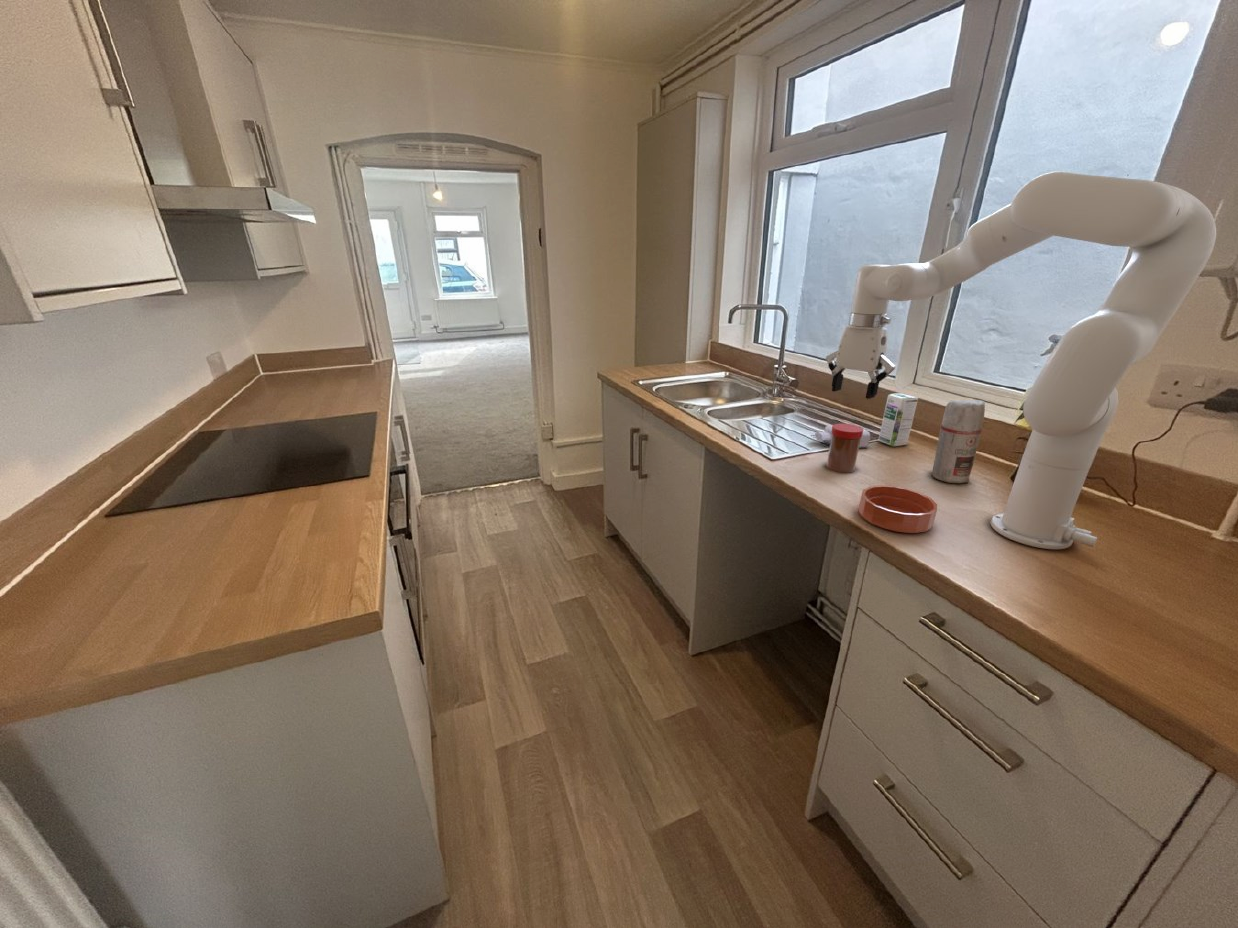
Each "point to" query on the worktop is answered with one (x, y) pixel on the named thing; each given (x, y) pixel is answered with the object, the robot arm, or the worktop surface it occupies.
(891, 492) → the dish
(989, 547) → the worktop surface
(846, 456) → the jar
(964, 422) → the spray can
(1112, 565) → the worktop surface
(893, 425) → the syrup box
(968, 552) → the worktop surface
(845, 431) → the lid
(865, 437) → the charger
